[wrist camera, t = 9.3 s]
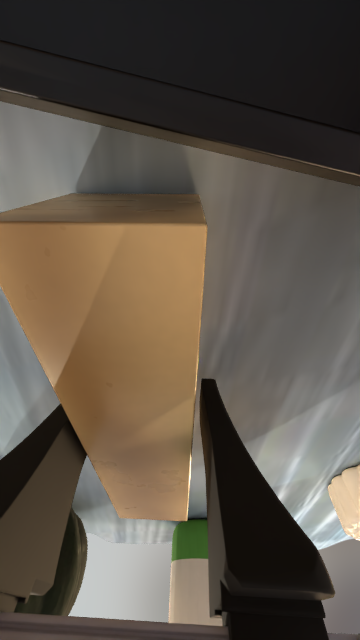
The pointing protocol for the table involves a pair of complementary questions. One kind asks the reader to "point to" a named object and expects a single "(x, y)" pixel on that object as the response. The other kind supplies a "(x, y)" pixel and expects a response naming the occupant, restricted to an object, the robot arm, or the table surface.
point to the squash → (63, 574)
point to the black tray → (197, 74)
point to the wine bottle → (190, 575)
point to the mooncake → (347, 500)
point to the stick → (116, 331)
